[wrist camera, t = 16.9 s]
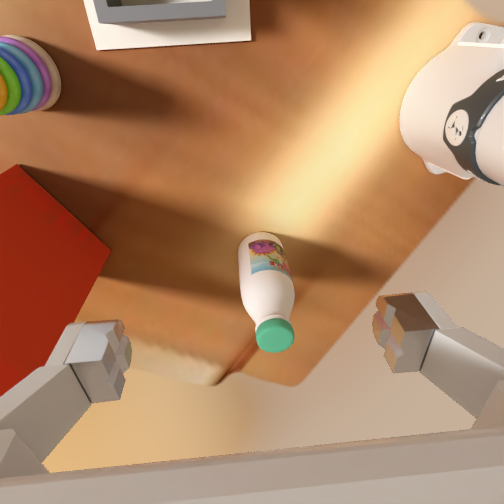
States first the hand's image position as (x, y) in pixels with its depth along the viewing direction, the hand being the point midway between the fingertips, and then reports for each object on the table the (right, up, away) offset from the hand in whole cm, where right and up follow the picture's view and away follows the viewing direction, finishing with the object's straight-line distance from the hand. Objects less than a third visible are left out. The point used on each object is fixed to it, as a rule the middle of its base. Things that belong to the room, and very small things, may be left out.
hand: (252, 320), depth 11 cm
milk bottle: (+1, +3, +46) cm, 46 cm away
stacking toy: (-27, +24, +29) cm, 46 cm away
